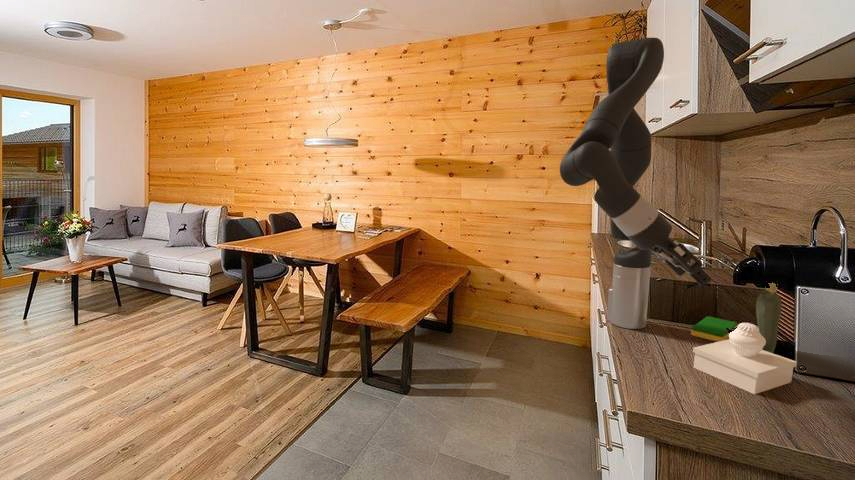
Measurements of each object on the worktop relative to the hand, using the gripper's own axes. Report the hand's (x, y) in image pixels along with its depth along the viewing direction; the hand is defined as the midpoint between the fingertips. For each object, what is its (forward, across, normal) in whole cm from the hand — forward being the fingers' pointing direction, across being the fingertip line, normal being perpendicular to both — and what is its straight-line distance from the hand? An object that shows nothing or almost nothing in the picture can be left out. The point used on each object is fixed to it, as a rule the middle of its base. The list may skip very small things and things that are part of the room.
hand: (694, 277), depth 82 cm
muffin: (+20, +1, +3) cm, 21 cm away
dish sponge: (+30, +25, +1) cm, 39 cm away
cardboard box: (+23, +1, +7) cm, 24 cm away
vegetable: (+30, +8, +1) cm, 31 cm away
